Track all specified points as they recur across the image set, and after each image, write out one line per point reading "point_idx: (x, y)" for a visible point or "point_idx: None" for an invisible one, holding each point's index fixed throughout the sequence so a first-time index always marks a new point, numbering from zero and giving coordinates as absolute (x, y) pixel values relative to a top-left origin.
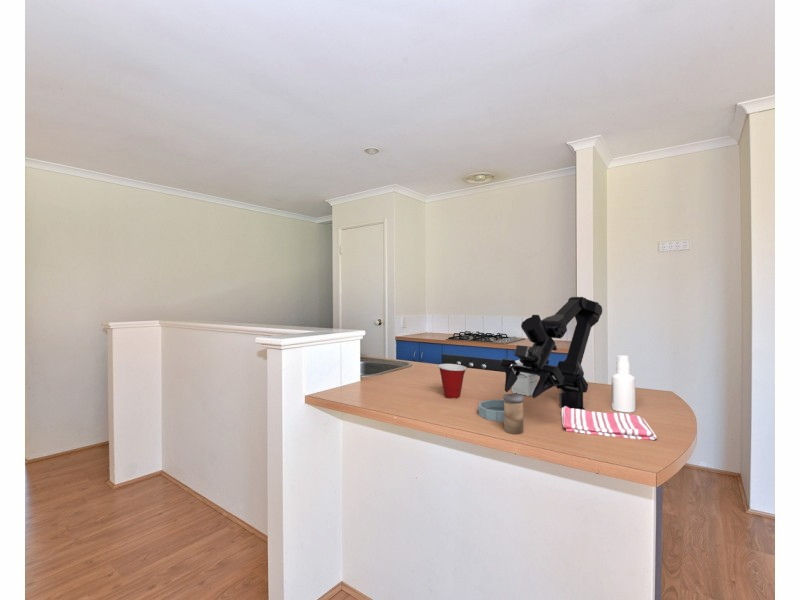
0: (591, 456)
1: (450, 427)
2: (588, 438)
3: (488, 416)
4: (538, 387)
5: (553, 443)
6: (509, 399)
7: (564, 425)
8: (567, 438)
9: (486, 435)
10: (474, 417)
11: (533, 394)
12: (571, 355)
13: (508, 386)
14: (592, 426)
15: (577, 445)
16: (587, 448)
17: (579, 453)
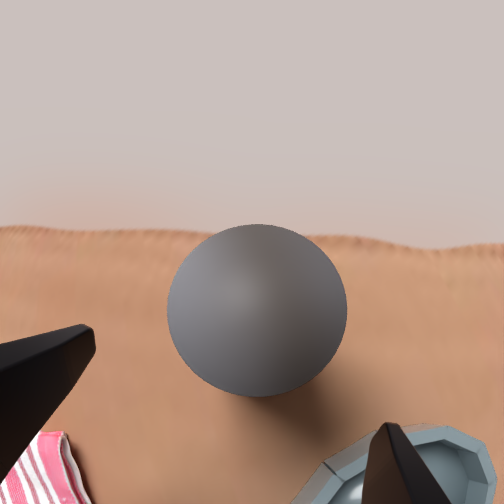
0: (17, 244)
1: (466, 249)
2: None
3: (419, 425)
4: (2, 344)
5: (92, 288)
6: (264, 228)
7: (58, 436)
8: None
9: (335, 241)
10: (466, 409)
11: (73, 327)
12: None
13: (382, 475)
14: (11, 486)
15: (33, 307)
16: (15, 295)
17: (36, 247)
